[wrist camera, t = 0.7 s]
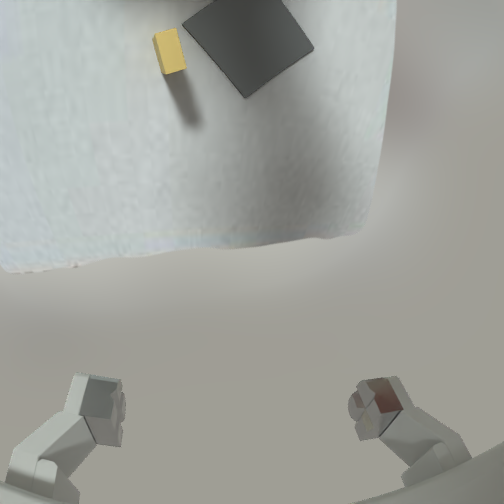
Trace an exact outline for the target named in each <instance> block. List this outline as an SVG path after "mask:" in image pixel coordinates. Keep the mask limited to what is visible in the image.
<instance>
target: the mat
mask: <svg viewBox="0 0 504 504" xmlns="http://www.w3.org/2000/svg"><path fill="white" fill-rule="evenodd" d="M182 25H183V26H184V27H185V28H186V29H187V30H188V32H189V33H190V34H191V35H192V36H193V37H194V38H195V39H196V41H197V42H198V43H199V44H200V45H201V46H202V47H203V48H204V50H205V51H206V52H207V53H208V54H209V55H210V57H211V58H212V59H213V60H214V61H215V62H216V64H217V65H218V66H219V67H220V68H221V69H222V71H223V72H224V73H225V74H226V75H227V77H228V78H229V79H230V80H231V81H232V83H233V84H234V85H235V86H236V88H237V89H238V90H239V91H240V93H241V94H242V95H243V96H244V98H247V97H248V96H249V95H250V94H252V93H253V92H254V91H256V90H257V89H258V88H260V87H261V86H262V85H264V84H265V83H266V82H268V81H269V80H270V79H272V78H273V77H274V76H276V75H277V74H278V73H280V72H281V71H283V70H284V69H285V68H287V67H288V66H290V65H291V64H292V63H294V62H295V61H297V60H298V59H300V58H301V57H303V56H304V55H305V54H307V53H308V52H310V51H311V50H313V49H314V47H313V45H312V44H311V42H310V41H309V39H308V38H307V36H306V35H305V33H304V32H303V30H302V29H301V27H300V26H299V25H298V23H297V22H296V20H295V19H294V18H293V16H292V15H291V13H290V12H289V11H288V9H287V8H286V7H285V5H284V4H283V3H282V1H281V0H216V1H214V2H213V3H211V4H210V5H208V6H207V7H205V8H204V9H202V10H201V11H199V12H198V13H197V14H195V15H194V16H192V17H191V18H190V19H188V20H187V21H185V22H184V23H183V24H182Z"/></svg>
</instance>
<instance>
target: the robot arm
mask: <svg viewBox="0 0 504 504" xmlns="http://www.w3.org/2000/svg"><path fill="white" fill-rule="evenodd" d="M356 387H357V389H358V390H357V391H356V392H354V393H353V394H352V395H351V397H350V399H349V403H348V410H349V414H350V416H351V418H352V419H354V420H355V421H356V424H355V429H356V432H357V434H358V437H359V439H360V441H362V440H368V439H373V438H379V437H380V438H379V439H380V440H381V441H382V442H383V443H384V444H385V445H386V446H388V447H389V448H390V449H391V450H392V451H393V452H394V453H395V454H396V455H397V456H398V457H400V458H401V459H402V460H403V461H404V462H405V463H406V464H407V465H408V466H410V468H408V469H407V470H406V471H405V472H404V473H403V474H402V476H401V478H402V480H403V483H404V486H405V487H404V488H401V489H399V490H396V491H392V492H389V493H386V494H383V495H380V496H377V497H373V498H369V499H366V500H362V501H358V502H354V503H350V504H504V442H502V443H500V444H498V445H497V446H495V447H493V448H491V449H489V450H488V451H486V452H484V453H482V454H480V455H478V456H476V457H474V458H472V457H471V455H470V453H469V451H468V450H467V448H466V446H465V444H464V442H463V440H462V438H461V436H460V435H459V434H458V433H456V432H455V431H453V430H452V429H450V428H449V427H447V426H445V425H444V424H443V423H441V422H440V421H438V420H437V419H435V418H434V417H432V416H431V415H429V414H428V413H426V412H425V411H423V410H422V409H420V408H419V407H415V406H414V405H413V403H412V401H411V399H410V397H409V396H408V394H407V392H406V390H405V388H404V386H403V385H402V383H401V381H400V379H399V378H398V377H397V376H392V377H385V378H376V379H368V380H362V381H360V382H359V383H358V385H357V386H356ZM121 391H122V382H121V380H120V379H114V378H108V377H101V376H96V375H90V374H84V373H78V372H77V373H76V374H75V375H74V377H73V380H72V383H71V387H70V390H69V394H68V397H67V400H66V403H65V407H64V410H63V412H61V411H59V412H58V413H56V414H55V415H54V416H53V417H52V418H50V419H49V420H48V421H47V422H45V423H44V424H43V425H42V426H41V427H40V428H38V429H37V430H36V431H35V432H33V433H32V434H31V435H30V436H29V437H27V438H26V439H25V440H24V441H22V442H21V443H20V444H19V445H18V446H17V447H15V448H14V450H13V454H12V457H11V461H10V464H9V468H8V472H7V476H6V481H5V482H2V481H0V504H79V496H80V492H79V491H78V489H77V488H76V487H75V486H74V485H73V484H72V483H71V481H70V480H69V479H68V477H69V476H70V475H71V474H72V473H73V472H74V471H75V470H76V468H77V467H78V466H79V465H80V464H81V463H82V462H83V460H84V459H85V458H86V457H87V456H88V455H89V453H90V452H91V451H92V450H93V449H94V448H95V447H96V444H100V445H108V446H115V447H121V441H122V433H123V430H122V426H121V422H122V421H123V420H124V419H125V406H126V403H125V396H124V393H123V392H121Z"/></svg>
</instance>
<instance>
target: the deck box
mask: <svg viewBox="0 0 504 504" xmlns="http://www.w3.org/2000/svg"><path fill="white" fill-rule="evenodd" d="M153 44H154V48H155V51H156V55H157V58H158V62H159V66H160V69H161V73H164V74H170V73H173V72H176V71H179V70H183V69H186V68H187V67H186V64H185V60H184V56H183V52H182V49H181V45H180V41H179V37H178V33H177V29H176V28H173V29H170V30H166V31H163V32H159V33H156V34H155V35H154V37H153Z"/></svg>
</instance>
